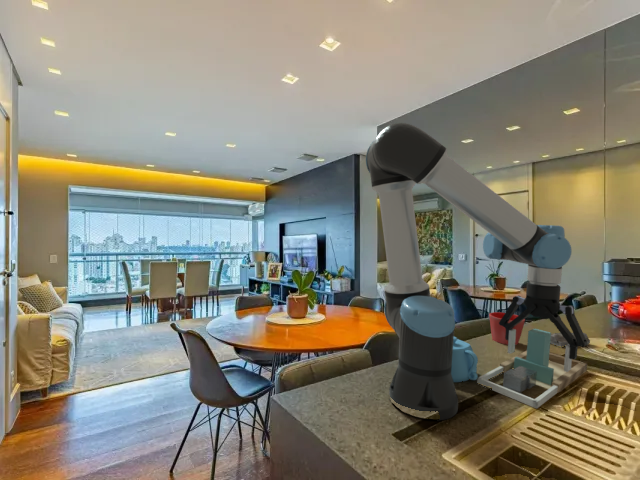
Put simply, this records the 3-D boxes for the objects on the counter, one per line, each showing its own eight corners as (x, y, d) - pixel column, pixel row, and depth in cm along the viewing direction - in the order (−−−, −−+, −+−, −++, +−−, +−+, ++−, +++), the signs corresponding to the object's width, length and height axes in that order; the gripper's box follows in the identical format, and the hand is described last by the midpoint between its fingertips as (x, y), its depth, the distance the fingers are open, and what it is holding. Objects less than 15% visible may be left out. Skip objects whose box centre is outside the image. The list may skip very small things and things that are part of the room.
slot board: (558, 396, 83) (559, 384, 82) (499, 374, 94) (499, 363, 94) (586, 373, 96) (587, 363, 96) (532, 356, 107) (532, 347, 107)
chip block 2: (529, 391, 84) (530, 375, 84) (512, 384, 87) (513, 369, 87) (535, 386, 86) (536, 371, 86) (518, 380, 90) (519, 365, 89)
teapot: (436, 323, 104) (493, 342, 88) (434, 357, 104) (490, 382, 89) (407, 329, 97) (463, 351, 82) (405, 365, 98) (460, 394, 82)
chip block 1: (519, 395, 82) (521, 379, 82) (502, 388, 85) (503, 372, 85) (526, 390, 84) (528, 374, 84) (509, 383, 88) (511, 368, 87)
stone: (558, 349, 115) (559, 337, 115) (536, 339, 125) (537, 328, 125) (595, 348, 118) (596, 336, 117) (571, 338, 127) (572, 327, 127)
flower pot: (502, 336, 125) (504, 310, 125) (530, 347, 115) (532, 319, 115) (480, 339, 122) (482, 312, 121) (507, 350, 112) (509, 321, 111)
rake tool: (550, 385, 86) (554, 339, 86) (513, 371, 93) (516, 329, 93) (558, 379, 90) (561, 335, 89) (521, 367, 97) (524, 326, 96)
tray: (536, 412, 75) (537, 401, 75) (476, 387, 86) (477, 377, 86) (557, 396, 83) (557, 386, 83) (499, 374, 94) (500, 365, 93)
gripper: (607, 290, 83) (599, 375, 84) (501, 274, 102) (497, 343, 104) (598, 293, 78) (590, 383, 79) (489, 276, 98) (484, 348, 99)
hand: (537, 360), depth 92 cm, fingers open, 13 cm apart
